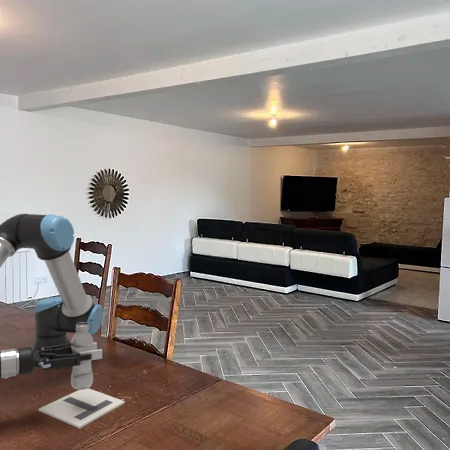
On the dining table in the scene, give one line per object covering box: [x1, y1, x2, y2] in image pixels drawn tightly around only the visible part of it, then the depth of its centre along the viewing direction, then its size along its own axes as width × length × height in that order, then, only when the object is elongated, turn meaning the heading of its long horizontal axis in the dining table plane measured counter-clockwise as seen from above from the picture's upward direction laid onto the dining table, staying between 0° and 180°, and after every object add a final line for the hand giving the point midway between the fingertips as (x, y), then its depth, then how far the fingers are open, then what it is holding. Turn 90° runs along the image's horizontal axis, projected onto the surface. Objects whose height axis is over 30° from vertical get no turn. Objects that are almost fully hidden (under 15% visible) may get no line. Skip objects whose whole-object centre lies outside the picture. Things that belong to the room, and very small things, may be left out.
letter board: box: [38, 387, 126, 430], centre depth 137 cm, size 18×18×1 cm
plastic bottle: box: [70, 322, 94, 391], centre depth 136 cm, size 6×7×20 cm
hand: (99, 350), depth 138 cm, fingers closed on plastic bottle, 6 cm apart
